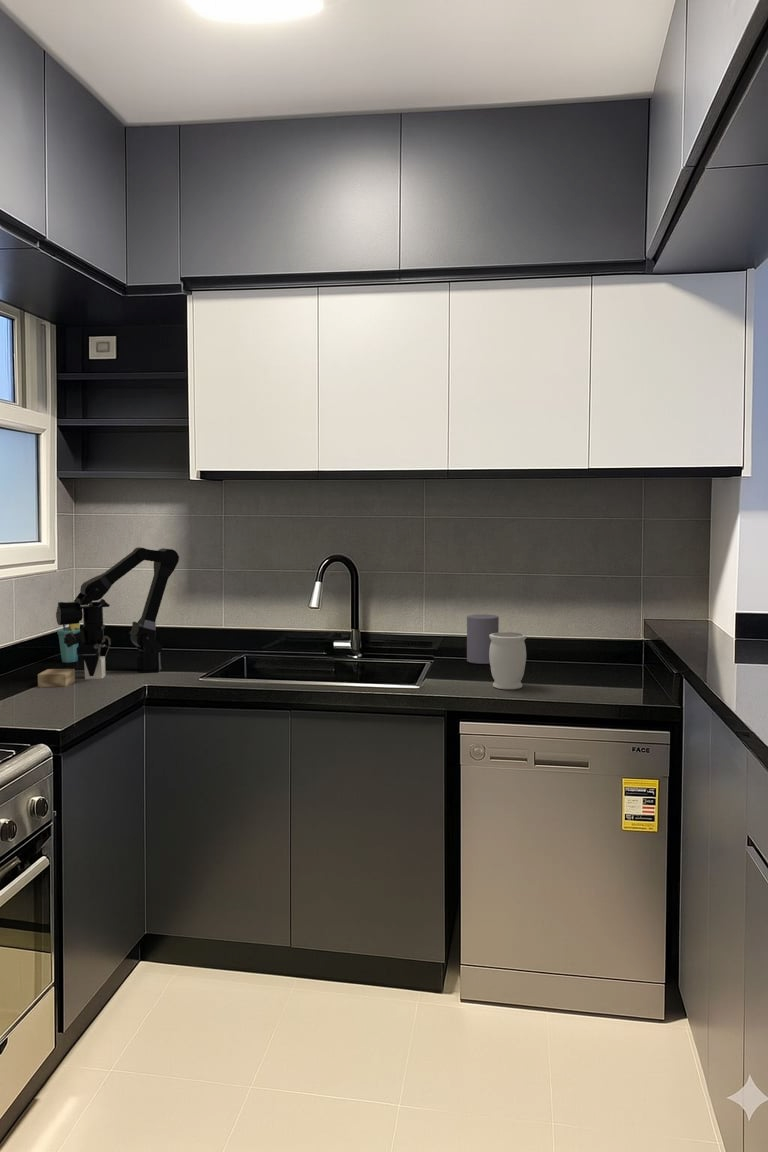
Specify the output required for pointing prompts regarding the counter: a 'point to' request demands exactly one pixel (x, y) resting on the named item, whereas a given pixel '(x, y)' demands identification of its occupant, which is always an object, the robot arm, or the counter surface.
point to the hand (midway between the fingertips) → (95, 673)
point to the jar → (507, 659)
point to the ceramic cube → (99, 669)
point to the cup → (66, 652)
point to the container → (480, 637)
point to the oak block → (56, 677)
